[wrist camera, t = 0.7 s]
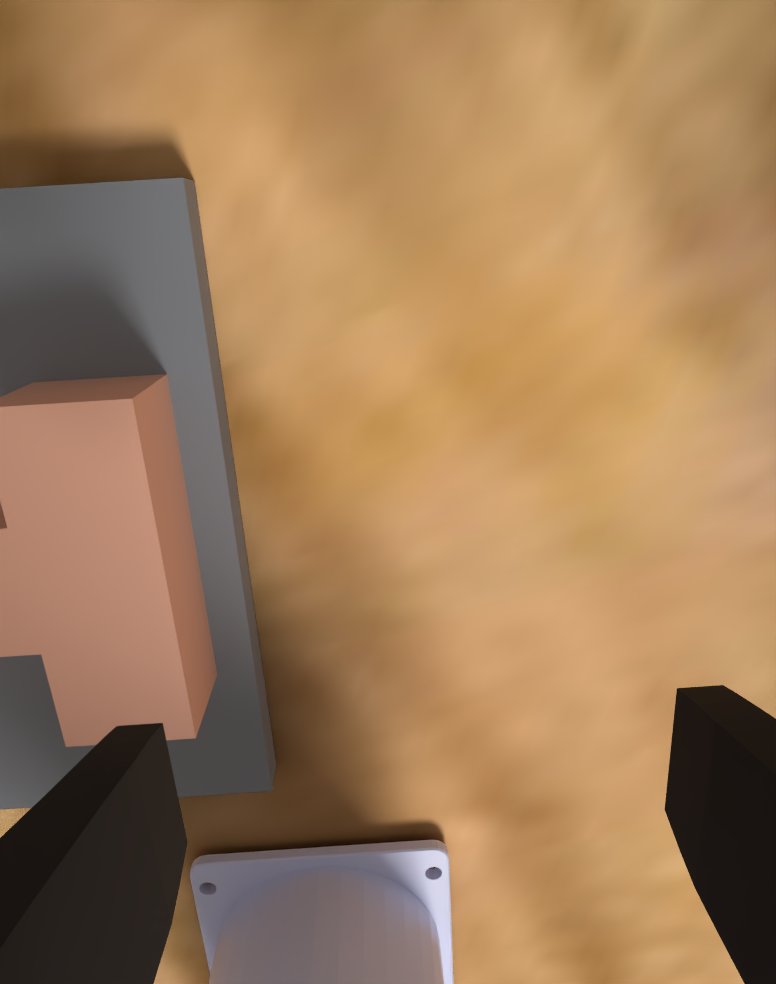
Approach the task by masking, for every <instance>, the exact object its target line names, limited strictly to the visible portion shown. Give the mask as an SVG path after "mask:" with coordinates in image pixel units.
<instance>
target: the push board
mask: <svg viewBox="0 0 776 984" xmlns="http://www.w3.org/2000/svg"><path fill="white" fill-rule="evenodd" d="M161 374H167V377H168V383H169V389H170V395H171V401H172V407H173V413H174V419H175V425H176V431H177V437H178V443H179V449H180V455H181V461H182V467H183V473H184V479H185V485H186V491H187V497H188V503H189V509H190V515H191V521H192V527H193V533H194V538H195V544H196V550H197V556H198V562H199V568H200V574H201V580H202V586H203V592H204V598H205V604H206V610H207V616H208V622H209V628H210V634H211V640H212V646H213V652H214V658H215V664H216V670H217V677H216V680H215V683H214V686H213V689H212V692H211V695H210V698H209V701H208V704H207V707H206V710H205V713H204V715H203V718H202V721H201V724H200V727H199V730H198V733H197V736H196V738H193V739H178V740H166V741H167V746H168V751H169V756H170V761H171V766H172V770H173V775H174V780H175V785H176V790H177V795H178V797H193V796H207V795H222V794H237V793H252V792H267V791H272V790H273V784H274V778H275V772H276V759H275V752H274V745H273V738H272V731H271V723H270V716H269V709H268V702H267V695H266V688H265V681H264V673H263V666H262V659H261V652H260V645H259V638H258V631H257V624H256V616H255V609H254V602H253V595H252V588H251V581H250V574H249V566H248V559H247V552H246V545H245V538H244V531H243V524H242V517H241V509H240V502H239V495H238V488H237V481H236V474H235V467H234V459H233V452H232V445H231V438H230V431H229V424H228V417H227V410H226V402H225V395H224V388H223V381H222V374H221V367H220V360H219V353H218V345H217V338H216V331H215V324H214V317H213V310H212V303H211V295H210V288H209V281H208V274H207V267H206V260H205V253H204V246H203V238H202V231H201V224H200V217H199V210H198V203H197V196H196V188H195V181H193V180H190V179H186V178H167V179H150V180H134V181H117V182H101V183H84V184H67V185H51V186H34V187H18V188H1V189H0V397H2V396H4V395H7V394H9V393H11V392H13V391H16V390H18V389H20V388H22V387H24V386H27V385H29V384H31V383H33V382H49V381H65V380H81V379H97V378H113V377H129V376H145V375H161ZM95 746H96V745H88V746H73V747H66V745H65V742H64V738H63V734H62V730H61V727H60V723H59V719H58V715H57V712H56V708H55V704H54V700H53V697H52V693H51V689H50V686H49V682H48V678H47V674H46V671H45V667H44V663H43V659H42V656H41V654H39V655H24V656H8V657H0V809H14V808H29V807H33V806H34V805H35V804H36V803H37V802H38V801H40V800H41V799H42V798H43V797H44V796H45V795H46V794H47V793H48V792H49V791H50V790H51V789H52V788H53V787H54V786H55V785H56V784H57V783H58V782H59V781H60V780H61V779H62V778H63V777H64V776H65V775H66V774H67V773H68V772H69V771H70V770H71V769H72V768H73V767H74V766H75V765H76V764H77V763H78V762H79V761H80V760H81V759H82V758H83V757H84V756H85V755H86V754H87V753H88V752H89V751H91V750H92V749H93V748H94V747H95Z"/></svg>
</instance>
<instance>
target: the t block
mask: <svg viewBox="0 0 776 984" xmlns="http://www.w3.org/2000/svg"><path fill="white" fill-rule="evenodd" d="M39 654H41V656H42V659H43V663H44V667H45V671H46V674H47V678H48V682H49V686H50V689H51V693H52V697H53V700H54V704H55V708H56V712H57V715H58V719H59V723H60V727H61V730H62V734H63V738H64V742H65V745H66V747H73V746H88V745H97V744H98V743H99V742H100V741H101V740H102V739H103V738H104V737H105V736H106V735H107V734H108V733H109V732H111V731H112V730H113V729H114V728H115V727H116V726H123V725H138V724H153V723H163V727H164V731H165V736H166V740H178V739H193V738H196V736H197V733H198V730H199V727H200V724H201V721H202V718H203V715H204V713H205V710H206V707H207V704H208V701H209V698H210V695H211V692H212V689H213V686H214V683H215V680H216V677H217V670H216V664H215V658H214V652H213V646H212V640H211V634H210V628H209V622H208V616H207V610H206V604H205V598H204V592H203V586H202V580H201V574H200V568H199V562H198V556H197V550H196V544H195V538H194V533H193V527H192V521H191V515H190V509H189V503H188V497H187V491H186V485H185V479H184V473H183V467H182V461H181V455H180V449H179V443H178V437H177V431H176V425H175V419H174V413H173V407H172V401H171V395H170V389H169V383H168V377H167V374H161V375H145V376H129V377H113V378H97V379H81V380H65V381H49V382H33V383H31V384H29V385H27V386H24V387H22V388H20V389H18V390H16V391H13V392H11V393H9V394H7V395H4V396H2V397H0V657H8V656H24V655H39Z"/></svg>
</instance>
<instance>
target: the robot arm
mask: <svg viewBox="0 0 776 984" xmlns="http://www.w3.org/2000/svg"><path fill="white" fill-rule="evenodd" d="M665 812H666V814H667V817H668V820H669V822H670V825H671V828H672V830H673V833H674V836H675V838H676V841H677V844H678V847H679V849H680V852H681V854H682V857H683V859H684V862H685V864H686V867H687V869H688V872H689V874H690V877H691V879H692V882H693V884H694V887H695V889H696V891H697V893H698V895H699V897H700V899H701V901H702V903H703V905H704V907H705V909H706V911H707V912H708V914H709V916H710V918H711V920H712V922H713V924H714V926H715V928H716V930H717V932H718V934H719V936H720V938H721V939H722V941H723V943H724V945H725V947H726V949H727V951H728V953H729V955H730V957H731V959H732V960H733V962H734V964H735V966H736V968H737V970H738V972H739V974H740V976H741V978H742V979H743V981H744V983H745V984H776V719H775V718H774V717H772V716H771V715H769V714H768V713H766V712H765V711H763V710H762V709H760V708H758V707H757V706H755V705H754V704H752V703H751V702H749V701H748V700H746V699H745V698H743V697H741V696H740V695H738V694H737V693H735V692H733V691H732V690H730V689H728V688H727V687H725V686H723V685H720V686H705V687H690V688H677V694H676V704H675V714H674V723H673V733H672V743H671V753H670V763H669V773H668V783H667V793H666V803H665ZM186 846H187V839H186V834H185V829H184V824H183V819H182V814H181V809H180V805H179V800H178V795H177V790H176V785H175V780H174V775H173V770H172V766H171V761H170V756H169V751H168V746H167V741H166V736H165V731H164V727H163V723H153V724H138V725H123V726H116V727H115V728H114V729H113V730H112V731H111V732H109V733H108V734H107V735H106V736H105V737H104V738H103V739H102V740H101V741H100V742H99V743H98V744H97V745H96V746H95V747H94V748H93V749H92V750H91V751H89V752H88V753H87V754H86V755H85V756H84V757H83V758H82V759H81V760H80V761H79V762H78V763H77V764H76V765H75V766H74V767H73V768H72V769H71V770H70V771H69V772H68V773H67V774H66V775H65V776H64V777H63V778H62V779H61V780H60V781H59V782H58V783H57V784H56V785H55V786H54V787H53V788H52V789H51V790H50V791H49V792H48V793H47V794H46V795H45V796H44V797H43V798H42V799H41V800H40V801H38V802H37V803H36V804H35V805H34V806H33V807H32V808H31V809H30V810H29V811H28V812H27V813H26V814H25V815H24V816H23V817H22V818H21V819H20V820H19V821H18V822H17V823H16V824H14V825H13V826H12V827H11V828H10V829H9V830H8V831H7V832H6V833H5V834H4V835H3V836H2V837H1V838H0V984H153V983H154V980H155V977H156V973H157V970H158V967H159V964H160V960H161V957H162V954H163V951H164V947H165V944H166V941H167V937H168V934H169V931H170V927H171V924H172V919H173V914H174V909H175V905H176V900H177V895H178V890H179V885H180V879H181V874H182V868H183V863H184V857H185V852H186ZM431 867H437V868H434V869H429V868H431ZM190 880H191V885H192V890H193V895H194V900H195V904H196V909H197V914H198V919H199V924H200V928H201V933H202V938H203V943H204V948H205V952H206V957H207V962H208V967H209V972H210V979H209V984H453V956H452V928H451V900H450V872H449V855H448V849H447V846H446V845H445V844H444V843H443V842H441V841H438V840H418V841H403V842H388V843H373V844H359V845H344V846H329V847H314V848H300V849H285V850H270V851H255V852H241V853H226V854H211V855H203V856H199V857H198V858H196V859H195V860H194V862H193V863H192V866H191V870H190ZM206 882H208V883H212V884H208V883H206Z"/></svg>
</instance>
